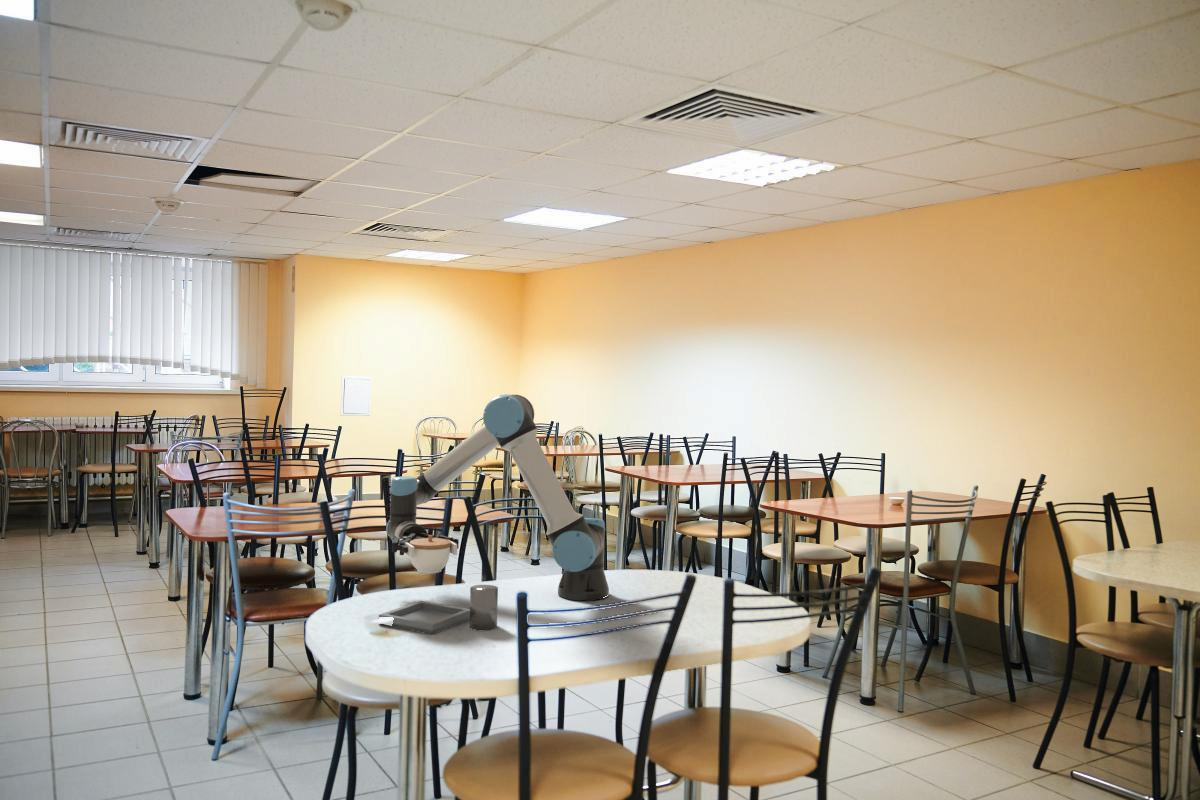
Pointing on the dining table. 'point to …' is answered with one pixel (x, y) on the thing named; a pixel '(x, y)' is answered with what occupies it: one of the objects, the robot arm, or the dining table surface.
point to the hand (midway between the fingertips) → (434, 551)
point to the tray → (427, 616)
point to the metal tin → (483, 607)
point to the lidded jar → (430, 554)
